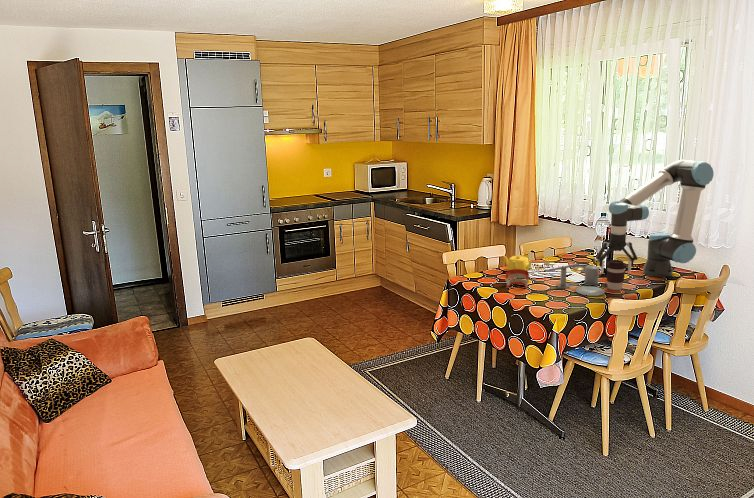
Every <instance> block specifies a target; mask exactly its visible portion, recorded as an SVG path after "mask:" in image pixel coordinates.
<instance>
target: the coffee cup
mask: <svg viewBox="0 0 754 498" xmlns="http://www.w3.org/2000/svg"><path fill="white" fill-rule="evenodd" d="M605 267H606V282H607V285H606V286H607V289H609V290H611V291H621V290H622V289H623V285H624V281H625V275H626V271H625V270H626V269H627V267H628V264H626V263H624V260H621V259H610V260H609V261H608V262H606V263H605Z"/></svg>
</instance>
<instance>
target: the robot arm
mask: <svg viewBox="0 0 754 498" xmlns="http://www.w3.org/2000/svg"><path fill="white" fill-rule="evenodd" d="M714 173H715V172H714V169H713V167H712V165H711V164H710V163H708V162H705V161H701V160H689V159H680V160H676V161H674V162H672V163H671V164H669V165H667V166H665V167H664V168H662V169H660V170H659V171H658V173H657V175H655V176H653V177H652V178H651V179H649V180H648V181H647V182H645V183H643V184H642V185H641V186H639V187H638V188H636V189H635V190H633V191H632V192H631V193H629V194H628V195H627V196H625V197H623V198H622V199H620V200H619V201H618V200H617V201H616V200H615V201H614V200H613V201H612V202H610V204H609V205H608V212H609V213H610V214H611V215H610V216H611V220H610V222H611V223H610V236H609V242H606V241H603V243H602V246H601V248H600V249H599V251H598V252H597V254H596V257H595V259H596V260H598V261H599V262H598V266H599V268H600V273H601V274H604V273H605V272H604V270H605V269H604V267H605V261H604V260H605V259H606V257H608V256H609V255H610V254H611V253H612V252H621V251H623V253H625V255H626V256H627V258H629V259H628V260H627V262H628V263H627V273H628V274H631V273H632V267H634V262H635V261H636V260H638V256H637V254H636V252H635V249H634V247H633V243H632V242H631V241H628V242H626V241H627V240H626V239H627V234H626V233H627V229H628V228H627V225H628V222H633V221H635V222H636V221H644V220H646V219H648V217H649V215H650V211H649V208H648V206H646V205H641V204H642V203H644V202H645V201H646V200H648V199H649V198H650V197H652V196H653V195H655V194H657V193H659V191H661V190H663V189H664V188H666V186H672V185H673V184H674V183H678V182H680V185H679V186H680V187H681V188H682V191H681V195H680V199H679V205H678V209H677V215H676V219H675V224H674V228H673V233H665V232H663V233H662V232H661V233H659V232H658V233H652V234H650V235H649V237H648V243H647V246H648V247H647V259H646V261H645V264H644V266H643V268H642V273H643V274H644V275H646V276H650V277H658V278H668V277H671V276H673V274H674V273H673V272H674V271H673V270H674V269H673V266H672V263H671V261H672V262H674V263H678V264H686V263H689V262H690V261H692V260H693V259H694V258H695V256H696V254H697V247H696V245H695V244H694V237H692V233H693V229H694V224H695V219H696V216H697V212H698V207H699V202H700V196H701V193H702V191H703V190H705V189H706V187H707V185H709V184H710V183H711V182H712V181H713V179H714V176H715V175H714ZM608 246H609V247H608ZM607 247H608V248H607ZM625 247H628V248H629V251H630V253H631V254H630V253H629V252H628V251H627V249H625ZM606 249H607V250H606ZM605 250H606V251H605Z"/></svg>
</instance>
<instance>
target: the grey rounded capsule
mask: <svg viewBox="0 0 754 498" xmlns="http://www.w3.org/2000/svg"><path fill="white" fill-rule="evenodd" d="M599 271H600V266H599V267H598V266H595V265H586V266H584V284H585V285H586V286H596V285H599V276H600V275H599V274H600V272H599Z"/></svg>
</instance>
